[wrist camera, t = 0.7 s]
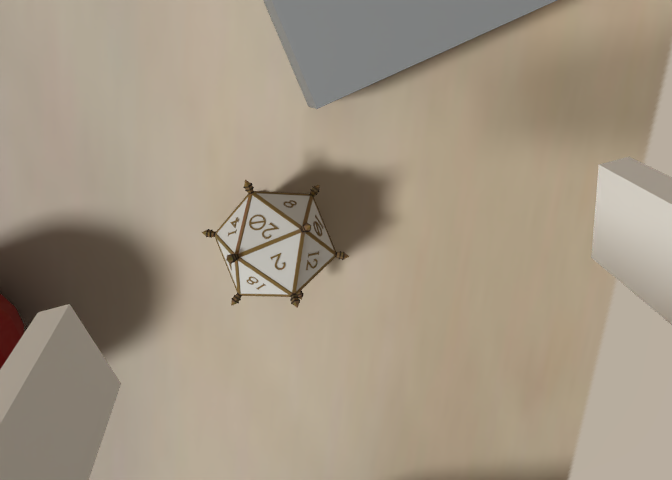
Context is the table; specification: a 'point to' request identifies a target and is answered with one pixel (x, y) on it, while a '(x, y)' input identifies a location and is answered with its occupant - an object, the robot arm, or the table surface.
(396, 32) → the plinth
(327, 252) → the game die
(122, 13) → the table surface
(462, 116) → the table surface
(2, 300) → the apple
